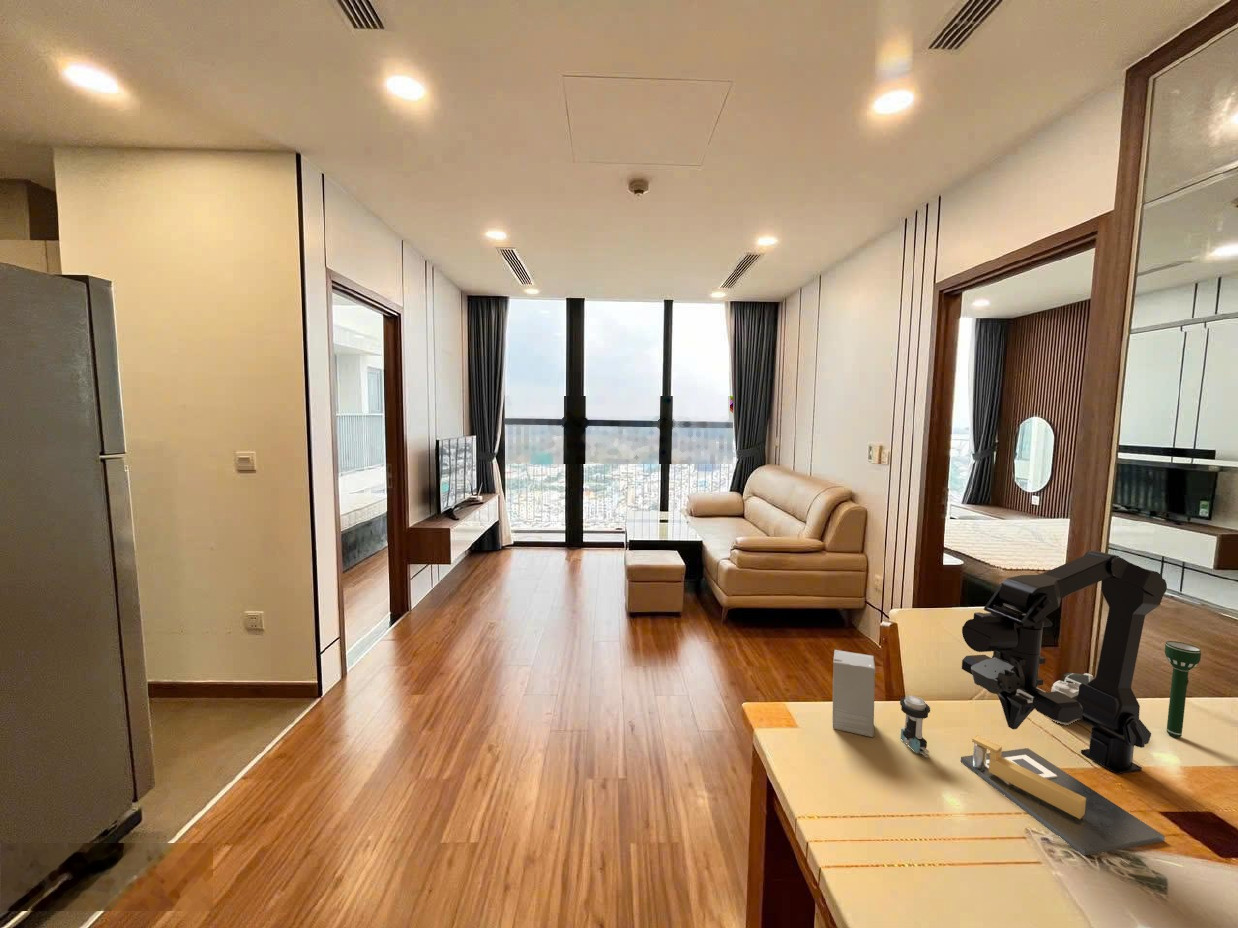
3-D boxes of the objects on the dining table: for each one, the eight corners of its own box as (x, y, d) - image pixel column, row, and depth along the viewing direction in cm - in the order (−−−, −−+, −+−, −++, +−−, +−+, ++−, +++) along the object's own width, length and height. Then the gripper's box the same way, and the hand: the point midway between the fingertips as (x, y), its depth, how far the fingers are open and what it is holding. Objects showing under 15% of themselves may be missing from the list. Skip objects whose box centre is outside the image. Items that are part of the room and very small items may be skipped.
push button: (939, 758, 99) (942, 710, 98) (915, 760, 98) (918, 712, 97) (914, 737, 105) (916, 692, 104) (891, 739, 104) (894, 694, 104)
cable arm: (970, 762, 95) (972, 738, 95) (975, 758, 96) (977, 734, 96) (1079, 818, 82) (1082, 791, 81) (1084, 813, 83) (1087, 786, 82)
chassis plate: (1027, 752, 101) (1027, 747, 101) (1164, 841, 79) (1164, 835, 79) (960, 761, 98) (961, 756, 98) (1084, 856, 76) (1084, 850, 76)
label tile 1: (1025, 755, 98) (1025, 754, 98) (1057, 777, 92) (1057, 775, 92) (1004, 758, 97) (1004, 756, 97) (1035, 780, 91) (1035, 778, 91)
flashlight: (1191, 745, 104) (1201, 653, 102) (1155, 733, 108) (1164, 644, 106) (1192, 736, 107) (1202, 646, 106) (1157, 724, 111) (1166, 638, 109)
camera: (1089, 738, 106) (1093, 693, 105) (1041, 717, 114) (1045, 675, 113) (1124, 720, 113) (1128, 678, 112) (1076, 701, 121) (1079, 661, 120)
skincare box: (872, 722, 110) (876, 654, 109) (873, 741, 104) (877, 668, 103) (831, 712, 114) (834, 646, 113) (829, 729, 107) (833, 659, 106)
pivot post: (978, 767, 96) (980, 741, 96) (987, 774, 94) (989, 747, 94) (969, 768, 96) (971, 742, 95) (978, 775, 94) (980, 748, 93)
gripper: (941, 629, 100) (935, 703, 101) (1035, 675, 81) (1026, 765, 82) (988, 627, 102) (981, 699, 103) (1089, 671, 83) (1080, 759, 85)
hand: (1012, 728), depth 93 cm, fingers closed
